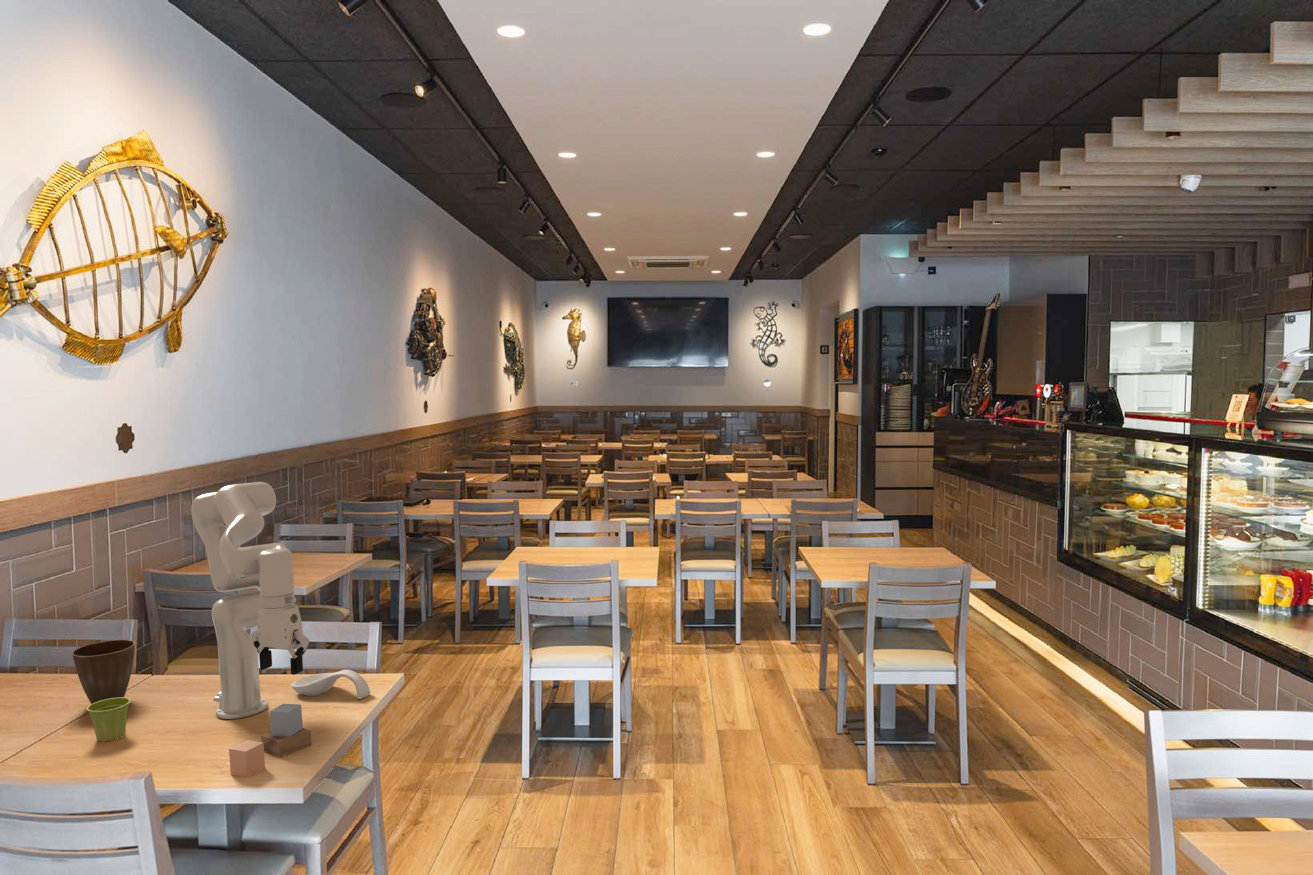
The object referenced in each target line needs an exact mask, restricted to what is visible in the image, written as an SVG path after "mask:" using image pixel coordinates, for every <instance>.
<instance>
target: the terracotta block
mask: <svg viewBox="0 0 1313 875" xmlns="http://www.w3.org/2000/svg"><path fill="white" fill-rule="evenodd" d="M228 754H229V769H230V770H229V771H230V772H229V773H230V776H236V777H241V778H246V779H247V778H250V777H251V776H253V775H255V774H256V773H259V772H261V771H262V770H265V769H266V763H265V762H266V761H265V751H264V744H263V743H262V742H261V741H254V740H249V739H246V740H244V741H242V742H240V743H238V744H236V745H235V746H231V747H230V748H228Z"/></svg>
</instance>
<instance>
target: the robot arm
mask: <svg viewBox="0 0 1313 875" xmlns="http://www.w3.org/2000/svg"><path fill="white" fill-rule="evenodd" d="M276 504H277V496H276V491H275V490H274V488H273V487H272V485H270V484H269V483H268V482H265V481H256V482H245V483H237V484H229V485H226V486H224V487H221V488H220V489H219V490H218V491H215V492H214V491H213V492H209V493H208V492H207V493H203V494H201V495H199V496H197V497H195V498H194V499H193V500H192V503H191V508H190V510H191V511H190V512H191V519H192V522H193V524H194V527H195V529H196V531H197V533H198V535H199V537H200V539H201V540H202V543H203V544H204V549H205V552H206V558H207V563H208V569H209V574H210V575H209V576H210V579H211V582H212V586H213V588H214V589H215V590H216V591H217V592H219V593H228V592H229V593H230V592H235V591H240V590H247V589H252V588H253V589H254V588H255V589H257V591H252V592H246V593H239V594H234V595H229V596H228V595H227V596H225V597H222V598H220V599H218V600H216V601H215V603H213V605H212V608H211V617H212V623H213V626H214V631H215V637H216V641H217V642H216V643H217V651H218V652H217V653H218V655H217V656H218V665H219V666H218V667H219V681H220V682H219V683H220V685H219V686H220V691H219V692H218V693H217V694H216V696H214V698H213V702H216V703H218V704H219V706H218V707H217V708H216V710H215V715H216V718H217V717H218V718H220V719H224V720H225V719H226V720H232V719H233V720H234V719H242V718H246V717H251V716H254V715H257V714H259V713H261V712H263V711H265V710H266V709H267V708H268V701H267V700H266V699H264V698H261V697H262V696H261V682H260V681H261V680H260V671H264V670H266V669H270V668H271V667H273V653H272V650H271V649H275V650H283V651H284V650H285V651H288V653H289V654H290V656H291V658H290V659H289V663H290V673H291V674H290V675H294V676H295V675H298V674H299V673H301V672H303V670H304V663H303V656H304V655H305V653H306V652H307V650H308V646H309V645H310V638H308V637H307V636H306V635H304V632H303V623H302V618H301V617H302V616H301V613H300V610H299V606H298V604H296V602H297V598H296V596H295V582H294V563H293V562H294V559H293V558H294V557H293V553H292V551H291V550H290V549H288V548H287V547H286V545H285V544H283V543H281V542H273V543H272V542H271V543H265V544H257V545H256V544H255V545H249V546H243V547H242V545H243V544H246V543H247V542H249V541H251V540H252V539H255V537H257V536H258V535H259V534H260V533H261V532H262V531H263V530H264V527H265V519H264V516H266V515H269V514H271V513H272V512H273V511H274V510H275V508H276ZM224 524H225V525H224ZM253 628H257V630H255V631H254V632H252V633H250V634H248V633H247V630H250V629H253ZM258 654H259V655H258Z"/></svg>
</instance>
